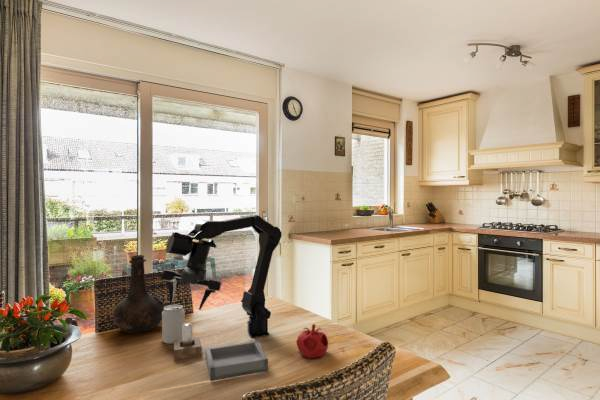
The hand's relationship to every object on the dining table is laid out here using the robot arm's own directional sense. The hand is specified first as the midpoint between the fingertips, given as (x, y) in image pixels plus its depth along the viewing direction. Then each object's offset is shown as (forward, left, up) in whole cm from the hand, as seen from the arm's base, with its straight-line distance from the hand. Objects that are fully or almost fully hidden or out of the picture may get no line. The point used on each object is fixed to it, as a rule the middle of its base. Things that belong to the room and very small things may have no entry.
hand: (185, 306), depth 118 cm
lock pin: (0, +2, -14) cm, 14 cm away
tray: (-13, +15, -15) cm, 25 cm away
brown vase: (+16, -28, -15) cm, 36 cm away
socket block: (0, +2, -15) cm, 15 cm away
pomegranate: (-37, +16, -15) cm, 43 cm away
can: (+4, -11, -15) cm, 19 cm away
